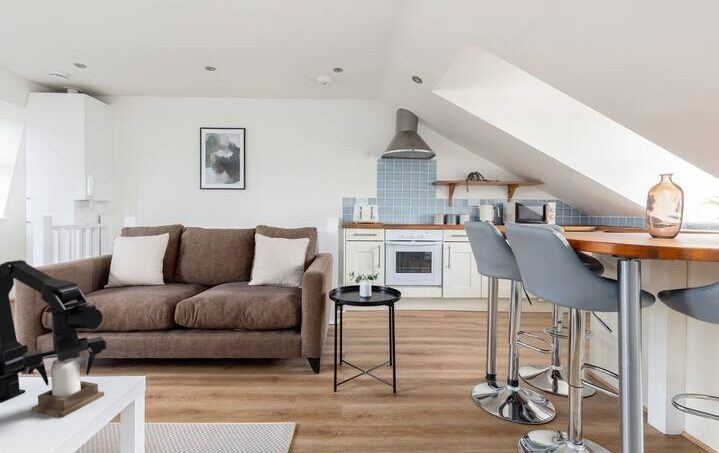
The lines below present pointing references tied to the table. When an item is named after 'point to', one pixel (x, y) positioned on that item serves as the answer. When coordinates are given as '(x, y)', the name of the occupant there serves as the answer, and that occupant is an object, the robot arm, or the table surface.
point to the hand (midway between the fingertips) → (67, 379)
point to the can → (65, 377)
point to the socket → (67, 400)
